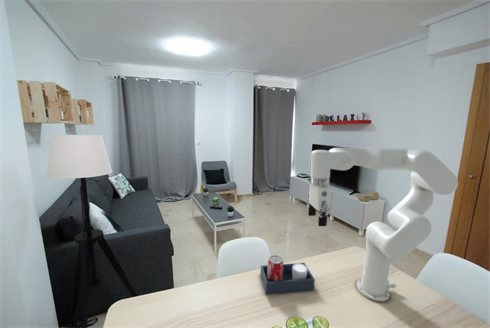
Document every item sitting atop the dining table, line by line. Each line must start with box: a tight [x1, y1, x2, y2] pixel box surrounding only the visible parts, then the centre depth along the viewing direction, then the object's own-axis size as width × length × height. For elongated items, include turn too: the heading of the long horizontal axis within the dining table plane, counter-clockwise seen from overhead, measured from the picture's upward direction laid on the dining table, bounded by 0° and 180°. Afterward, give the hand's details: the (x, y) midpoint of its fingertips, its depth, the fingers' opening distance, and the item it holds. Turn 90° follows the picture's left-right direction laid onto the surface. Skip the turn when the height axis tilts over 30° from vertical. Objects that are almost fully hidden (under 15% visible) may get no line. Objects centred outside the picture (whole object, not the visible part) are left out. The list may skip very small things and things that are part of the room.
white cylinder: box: [292, 262, 309, 280], centre depth 102 cm, size 7×7×7 cm
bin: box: [260, 262, 315, 296], centre depth 101 cm, size 22×12×6 cm, turn 97°
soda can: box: [267, 255, 284, 282], centre depth 100 cm, size 7×7×12 cm
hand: (316, 220), depth 93 cm, fingers open, 9 cm apart
